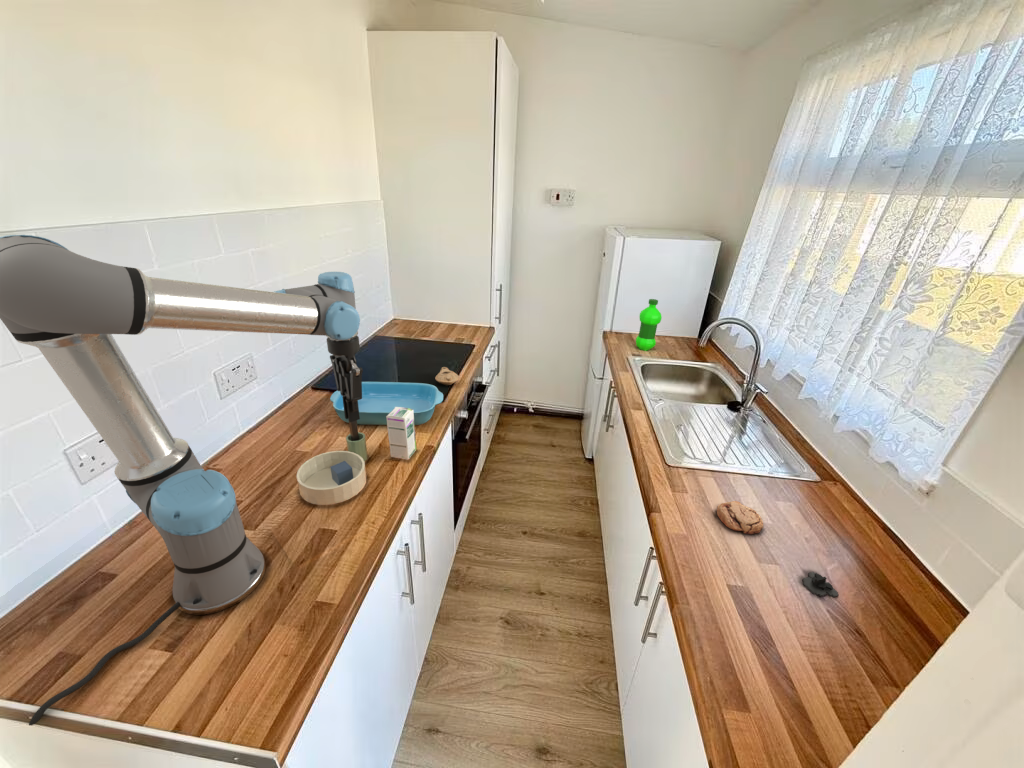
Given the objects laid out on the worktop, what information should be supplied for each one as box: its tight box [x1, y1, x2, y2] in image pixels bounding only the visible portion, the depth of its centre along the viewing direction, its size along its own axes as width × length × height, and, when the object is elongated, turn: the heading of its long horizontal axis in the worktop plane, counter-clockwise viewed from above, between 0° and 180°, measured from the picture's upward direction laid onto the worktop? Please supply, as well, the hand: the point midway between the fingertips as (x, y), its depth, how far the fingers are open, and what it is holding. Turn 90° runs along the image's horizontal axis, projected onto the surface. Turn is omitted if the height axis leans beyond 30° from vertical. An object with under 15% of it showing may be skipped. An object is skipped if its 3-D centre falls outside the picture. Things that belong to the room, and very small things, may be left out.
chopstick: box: [345, 392, 359, 441], centre depth 117 cm, size 2×2×18 cm
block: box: [330, 461, 353, 485], centre depth 113 cm, size 4×4×4 cm
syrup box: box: [386, 407, 417, 461], centre depth 123 cm, size 6×6×14 cm
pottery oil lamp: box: [434, 366, 460, 386], centre depth 171 cm, size 9×12×7 cm
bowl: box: [296, 450, 367, 506], centre depth 112 cm, size 16×16×6 cm
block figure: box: [802, 571, 839, 598], centre depth 91 cm, size 6×2×6 cm
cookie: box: [716, 500, 764, 535], centre depth 108 cm, size 10×11×3 cm
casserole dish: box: [329, 381, 444, 426], centre depth 146 cm, size 37×22×7 cm, turn 94°
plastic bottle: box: [635, 298, 663, 351], centre depth 212 cm, size 10×10×25 cm
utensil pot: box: [345, 431, 368, 462], centre depth 121 cm, size 5×5×8 cm
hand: (352, 418), depth 117 cm, fingers closed on chopstick, 2 cm apart
